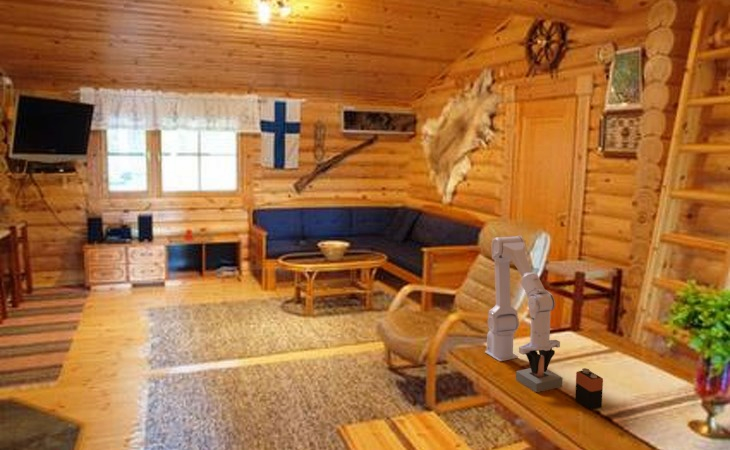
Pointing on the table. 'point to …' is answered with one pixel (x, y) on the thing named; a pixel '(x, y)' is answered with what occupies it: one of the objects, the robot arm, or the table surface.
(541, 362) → the long peg
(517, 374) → the hole block
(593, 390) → the battery
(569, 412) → the table surface
